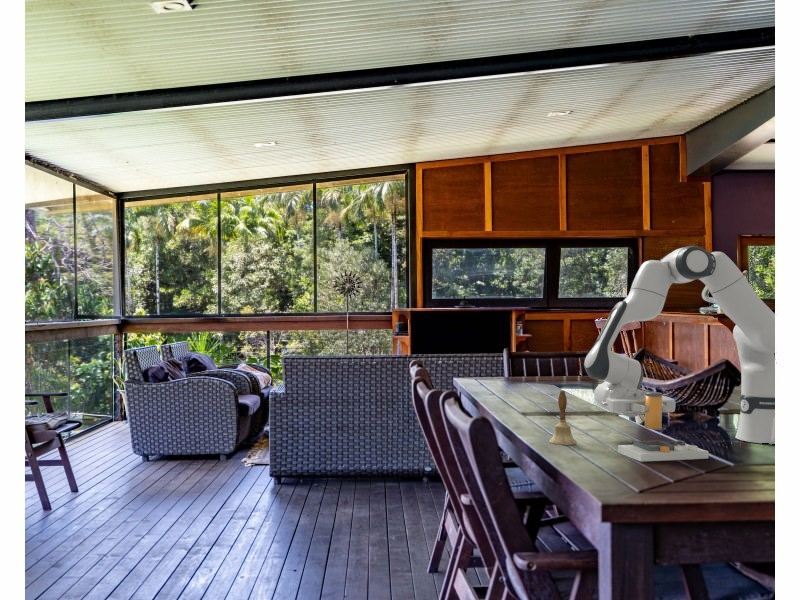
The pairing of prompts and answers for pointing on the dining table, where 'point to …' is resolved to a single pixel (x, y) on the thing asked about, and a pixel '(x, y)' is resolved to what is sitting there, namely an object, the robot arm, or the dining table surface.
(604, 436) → the dining table surface
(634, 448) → the board
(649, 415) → the orange capped cylinder
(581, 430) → the dining table surface
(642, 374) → the robot arm
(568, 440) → the hand bell
